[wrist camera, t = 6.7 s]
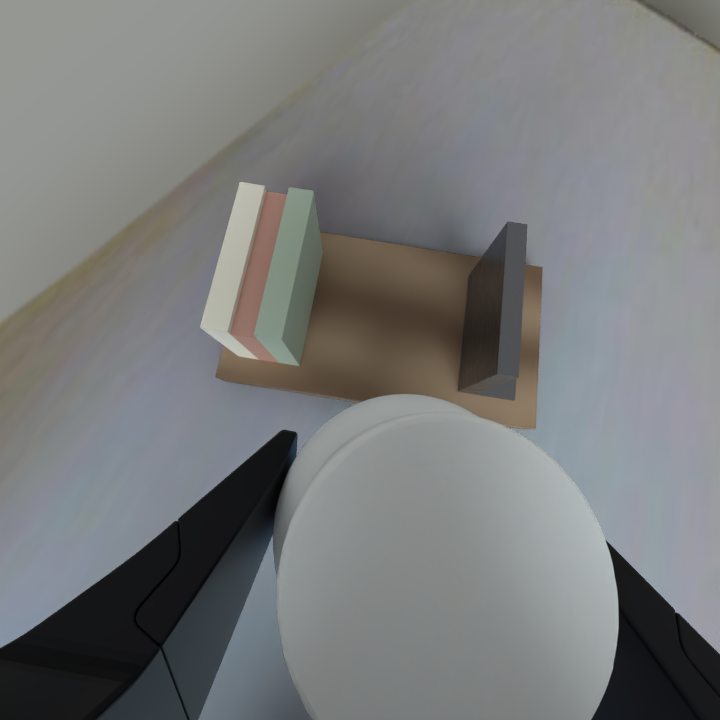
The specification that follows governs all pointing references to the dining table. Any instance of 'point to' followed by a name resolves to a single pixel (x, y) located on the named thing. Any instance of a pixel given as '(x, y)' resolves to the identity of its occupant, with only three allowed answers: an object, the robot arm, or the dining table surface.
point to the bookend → (495, 317)
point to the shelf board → (395, 331)
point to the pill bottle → (439, 572)
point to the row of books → (266, 275)
